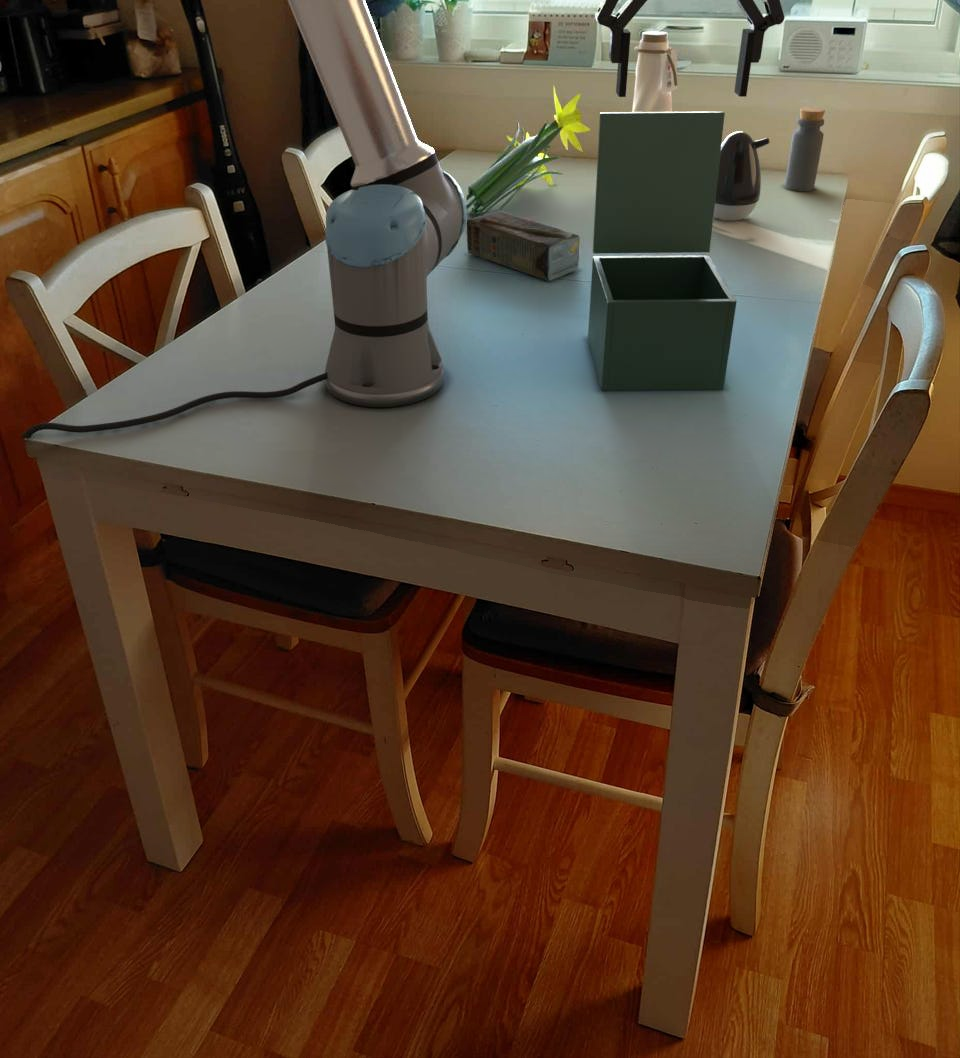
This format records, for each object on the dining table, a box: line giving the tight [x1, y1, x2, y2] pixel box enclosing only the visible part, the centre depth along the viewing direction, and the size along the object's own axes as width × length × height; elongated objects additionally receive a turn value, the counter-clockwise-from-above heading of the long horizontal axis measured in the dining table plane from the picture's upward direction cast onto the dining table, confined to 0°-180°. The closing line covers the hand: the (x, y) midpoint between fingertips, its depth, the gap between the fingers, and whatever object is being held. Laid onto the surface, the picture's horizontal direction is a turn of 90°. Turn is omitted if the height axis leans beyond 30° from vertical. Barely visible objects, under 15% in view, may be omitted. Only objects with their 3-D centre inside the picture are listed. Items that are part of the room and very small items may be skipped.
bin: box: [587, 254, 738, 392], centre depth 128 cm, size 17×16×12 cm
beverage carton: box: [466, 209, 581, 282], centre depth 162 cm, size 8×19×7 cm, turn 45°
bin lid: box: [592, 111, 726, 254], centre depth 127 cm, size 17×16×1 cm
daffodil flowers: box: [465, 84, 591, 216], centre depth 192 cm, size 17×15×35 cm
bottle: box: [784, 106, 826, 192], centre depth 196 cm, size 6×6×15 cm
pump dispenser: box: [713, 131, 770, 222], centre depth 180 cm, size 10×10×15 cm
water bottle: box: [631, 30, 678, 112], centre depth 196 cm, size 10×9×28 cm
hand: (680, 94), depth 111 cm, fingers open, 13 cm apart
